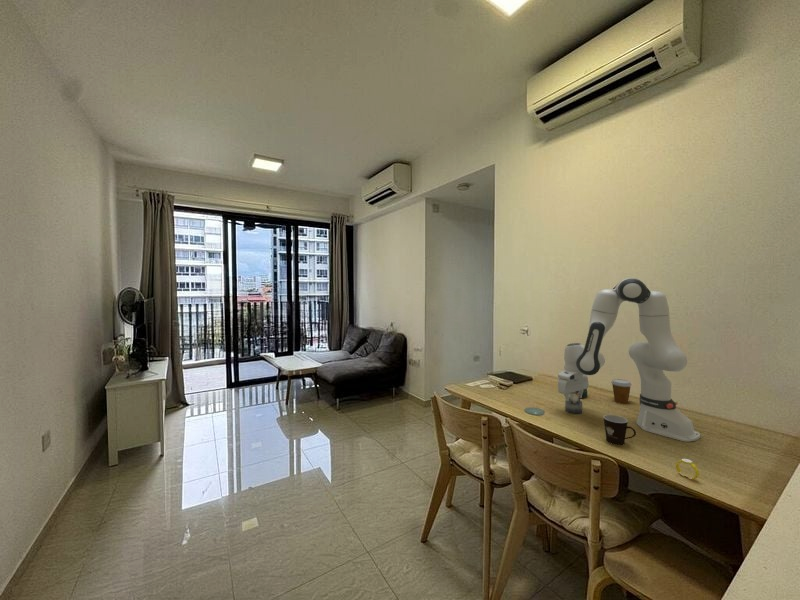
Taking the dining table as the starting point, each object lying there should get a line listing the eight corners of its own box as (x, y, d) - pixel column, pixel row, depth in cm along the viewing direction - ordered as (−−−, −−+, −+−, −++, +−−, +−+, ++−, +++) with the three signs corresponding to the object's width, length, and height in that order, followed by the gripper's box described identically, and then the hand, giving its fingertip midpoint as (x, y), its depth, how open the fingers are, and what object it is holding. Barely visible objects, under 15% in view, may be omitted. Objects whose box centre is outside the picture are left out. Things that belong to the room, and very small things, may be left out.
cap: (581, 402, 167) (581, 393, 167) (575, 404, 166) (575, 395, 165) (571, 399, 172) (571, 390, 172) (566, 401, 170) (566, 392, 170)
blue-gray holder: (585, 412, 167) (585, 400, 167) (575, 415, 164) (575, 403, 163) (571, 407, 174) (571, 396, 174) (562, 410, 171) (561, 399, 171)
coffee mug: (599, 437, 140) (599, 414, 140) (618, 436, 140) (618, 414, 139) (616, 450, 128) (616, 426, 128) (637, 450, 128) (637, 426, 128)
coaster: (548, 412, 168) (548, 412, 168) (535, 416, 163) (535, 415, 163) (533, 406, 177) (533, 406, 177) (520, 410, 172) (520, 409, 172)
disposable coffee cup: (634, 402, 180) (634, 381, 180) (627, 406, 175) (627, 384, 174) (615, 397, 188) (615, 377, 188) (608, 401, 183) (608, 380, 182)
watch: (675, 474, 112) (673, 457, 112) (679, 472, 113) (678, 455, 113) (696, 482, 107) (694, 464, 107) (700, 480, 108) (699, 462, 108)
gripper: (580, 369, 176) (580, 394, 176) (555, 374, 167) (555, 400, 167) (591, 372, 170) (591, 397, 171) (566, 377, 161) (566, 404, 161)
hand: (573, 399), depth 169 cm, fingers open, 8 cm apart
